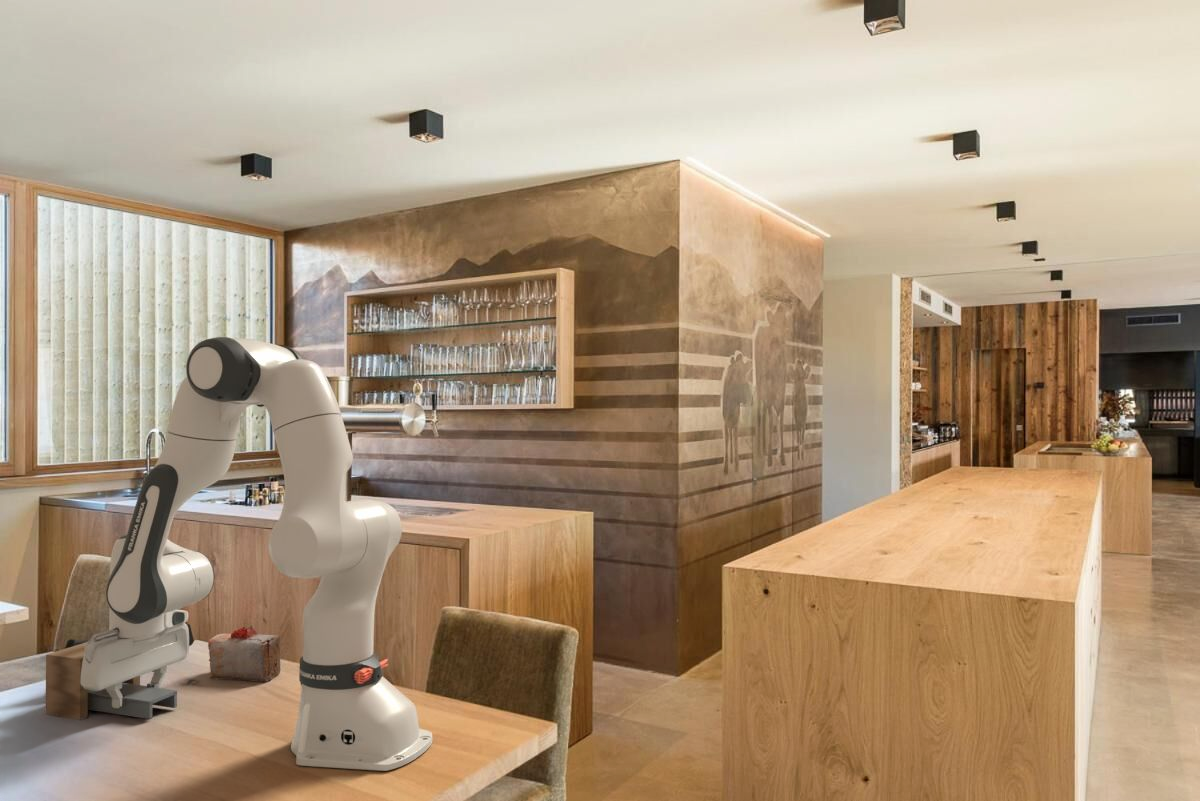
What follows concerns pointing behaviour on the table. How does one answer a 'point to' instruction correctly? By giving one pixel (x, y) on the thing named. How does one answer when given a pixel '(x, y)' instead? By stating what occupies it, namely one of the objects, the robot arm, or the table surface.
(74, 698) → the wooden arch
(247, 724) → the table surface
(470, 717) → the table surface
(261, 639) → the food item
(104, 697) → the grey channel riser
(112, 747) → the table surface
